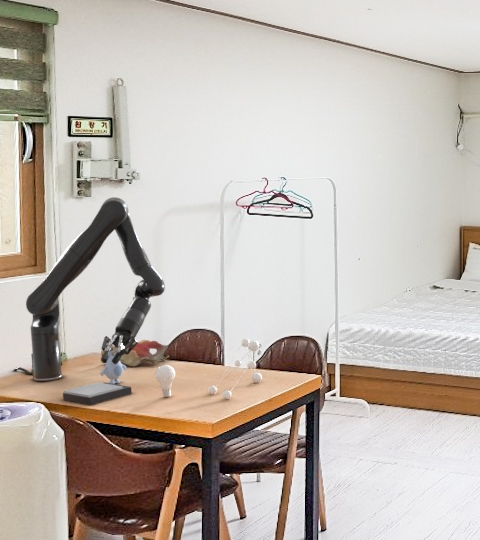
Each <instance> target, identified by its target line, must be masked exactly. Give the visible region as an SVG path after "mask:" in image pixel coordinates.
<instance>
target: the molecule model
mask: <svg viewBox="0 0 480 540" xmlns="http://www.w3.org/2000/svg"><path fill="white" fill-rule="evenodd" d="M241 347H244V348H245V349H246V352H247V353H246V354H245V355H244V356H242V358H241V359H236V360H235V361H234V366H233V367H232V368H231V369H230V370H229V371H228V372H227V374H230V372H231V371H232V370H233V369H234V368H235V367H241V366H242V360H243V359H244V358H245V357H246V356H247V355H248V360H249V361H248V362H247V363H246V369H245V370H244V372H243V373H242V375H240V377H239V379H238V380H237V382H236V383H235V384H234V386H233V387H232V388H231V390H228V389H227V390H224V391H223V392H222V395H221V396H222V398H223V400H229V399H231V398H232V397H233V396H232V395H233V393H232V390H233V389H234V388H235V386H237V384H238V383H239V381H240V379H241V378H242V376H243V375H244V374H245V372H246V371H247V370H248V369H249V370H253V371H254V373H252V374H251V376H250V379H251V381H252V383H255V384H258V383H260V382H262V379H263V376H262V375H263V374H261V373H260V372H257V362H256V355H253V358H254V360H253V358H252V355H251V352H256V351H258V350H259V349H260V343H259V341H257V340H251V341H250V339H249V338H243V339H242V340H241V345H240V346H239V348H238V349H237V351H236V353H235V355H234V356H233V358H232V359H231V361H230V362H229V364H228V366H227V367H226V369H225V371H224V372H223V374H222V376H221V377H220V379H219V381H218V382H217V383H216V385H210V386H209V387H208V388H207V392H208V393H209V394H210V395H215V394H217V392H218V388H217V386H218V385H219V384H220V381H222V379H223V376H225V373H226V371H227V370H228V368H229V367H230V365H231V363H232V362H233V359H234V358H235V357H236V355H237V353H238V352H239V351H240V349H241Z"/></svg>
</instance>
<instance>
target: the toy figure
mask: <svg viewBox="0 0 480 540" xmlns="http://www.w3.org/2000/svg"><path fill="white" fill-rule="evenodd" d="M116 352H117V350H114V356H115V354H116ZM108 356H109V358H108V360H107V362H106V363H105V365H104V368H103V369H102V370H101V371H100V376H101V377H103V376H104V375H105V377H106V378H107V379H109V382H108V383H110V384H111V383H112V384H120V383H121V380H120V379H119V378H120V377H121V376H122V375H123V372H124V371H126V370H127V369H128V368H127V366H126V364H124V363H121V362H120V361H119V362H118V363H117V364H114V363H113V362H112V359H113V358H114V356H112V354H111V351H110V350H109V352H108Z"/></svg>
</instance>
